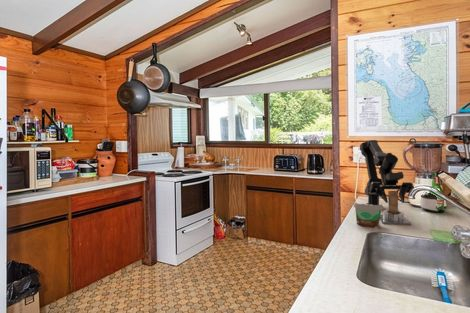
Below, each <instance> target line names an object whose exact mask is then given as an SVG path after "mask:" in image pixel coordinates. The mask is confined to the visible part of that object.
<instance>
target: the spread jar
mask: <svg viewBox="0 0 470 313" xmlns="http://www.w3.org/2000/svg"><path fill="white" fill-rule="evenodd" d="M437 189H438V190H439V191H440V192H441V190H440V188H437ZM424 192H425V191H424ZM424 192H423V193H424ZM421 194H422V193H421ZM421 194H420V197H421V199H420V198H419V200H420V201H419V205H420V208H421V209H422V210H423V211H425V212H428V211H429V213H436V212H435V211H436V210H437V206H436V204H437V197H436V196H435V195H433V194H431V193H427V192H425V193H424V194H422V195H421Z"/></svg>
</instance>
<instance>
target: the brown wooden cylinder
mask: <svg viewBox="0 0 470 313" xmlns="http://www.w3.org/2000/svg"><path fill="white" fill-rule="evenodd" d="M387 194H388V195H387V196H388V197H387V200H388V203H387V204H388V210H389V213H391V214H398V211H399V196H398V195H399V192H398V190H397V191H396V190H389V191H387Z"/></svg>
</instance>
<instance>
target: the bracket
mask: <svg viewBox="0 0 470 313" xmlns="http://www.w3.org/2000/svg"><path fill="white" fill-rule="evenodd" d="M379 222H380V223H381V224H383V225H385V224H386V225H404V226H405V225H406V226H412V222H410V220H409V219H407V217H406V216H405V212H403V211H400V210H398V214H391V213H389V209H385V210H383V214H380V220H379Z"/></svg>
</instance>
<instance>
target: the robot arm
mask: <svg viewBox="0 0 470 313" xmlns="http://www.w3.org/2000/svg"><path fill="white" fill-rule="evenodd" d="M359 150H360V154H361V155H362V156H363V157H364V158H365V164H366V170H367V175H368V181H367V183H366V186H365V189H364V194H365V195H366V196H367V198H368V199H367V203H366V204H372V205H380V198H381V199H382V200H383V201H384V202H385V204H389V203H388V197H387V193H386V192H385V190H390V191H396V190H397V191H398V190H399V192H398V195H399V196H398V197H399V199H400V201H401V203H402V204H404V203H405V195H406V194H409V193H411V191H412V190H413V189H414V184H413V183H412V182H410V181H409V182H408V181H407V182H405V181H404V182H402V183H401V184H399V181H400V180H402V179H404V177H405V176H404V172H402V171H398V172H393V170H394V169H395V167H396V165H397V163H398V161H399V158H398V157H397V156H396V155H395V154H393V153H392V152H387V153H386V152H384V151H383V150H382V148H381V146H380V145H379V142H378V140H376V139H369V140H366V141H363V142H362V143H360V145H359ZM377 167H378V171H377ZM378 174H379V175H380V178H379V176H378Z"/></svg>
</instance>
